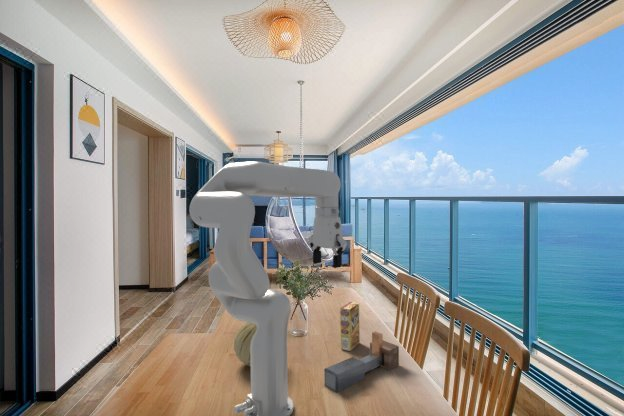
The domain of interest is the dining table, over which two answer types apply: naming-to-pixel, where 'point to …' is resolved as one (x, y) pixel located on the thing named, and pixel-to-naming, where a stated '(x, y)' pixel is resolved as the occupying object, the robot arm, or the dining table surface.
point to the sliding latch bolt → (374, 353)
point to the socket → (389, 355)
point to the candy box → (349, 326)
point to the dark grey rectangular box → (344, 374)
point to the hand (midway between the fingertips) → (327, 265)
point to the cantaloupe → (244, 342)
